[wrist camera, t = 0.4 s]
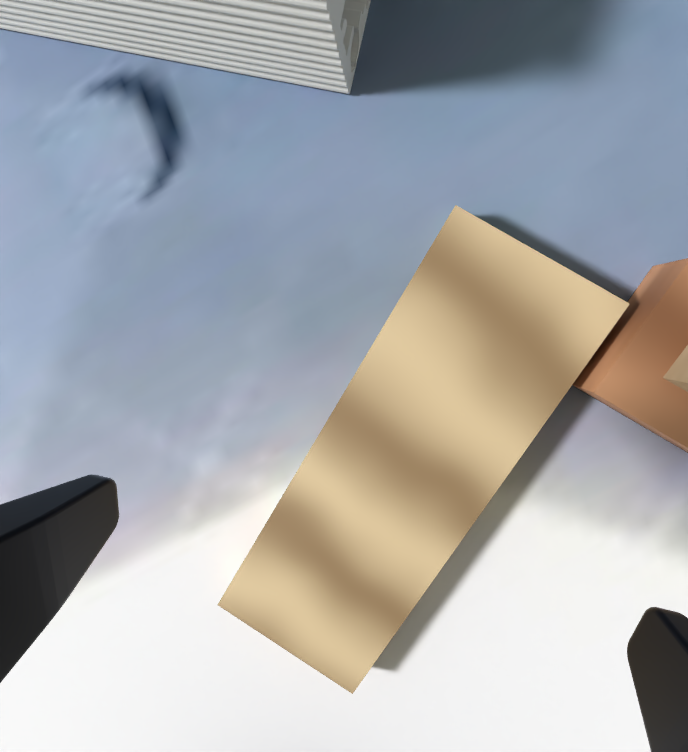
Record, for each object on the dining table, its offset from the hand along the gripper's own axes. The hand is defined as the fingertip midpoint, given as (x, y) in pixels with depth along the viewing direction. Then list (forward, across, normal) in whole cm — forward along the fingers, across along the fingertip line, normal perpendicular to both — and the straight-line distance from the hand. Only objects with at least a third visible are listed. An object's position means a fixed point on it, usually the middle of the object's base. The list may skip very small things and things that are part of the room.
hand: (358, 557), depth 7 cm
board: (+13, -1, +6) cm, 14 cm away
